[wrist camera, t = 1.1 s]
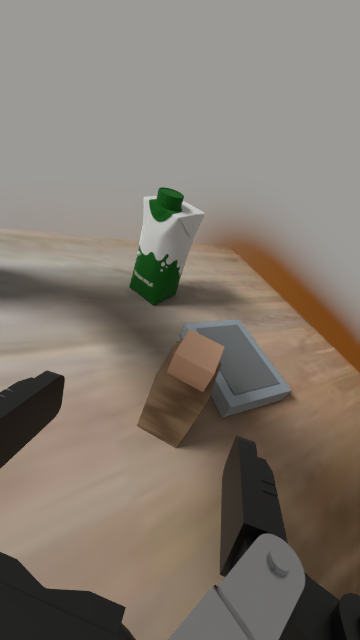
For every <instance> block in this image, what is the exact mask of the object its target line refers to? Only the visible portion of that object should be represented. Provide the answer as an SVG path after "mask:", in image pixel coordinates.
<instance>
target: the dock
mask: <svg viewBox="0 0 360 640" xmlns="http://www.w3.org/2000/svg"><path fill="white" fill-rule="evenodd" d="M189 329H191V330H193V331H195V332H197V333H199V334H201V335H203V336H205V337H206V338H208V339H210V340H212V341H214V342H216V343H218V344H220V345H222V346H224V350H223V352H222V355H221V358H220V360H219V362H220V363H222V364H221V367H220V369H219V372H218V375H217V378H216V380H215V383H214V386H213V389H212V392H211V394H210V395H211V397H212V399H213V401H214V403H215V405H216V407H217V409H218V411H219V413H220V415H221V417H222V418H223V417H227V416H230V415H234V414H237V413H240V412H244V411H247V410H251V409H254V408H257V407H261V406H264V405H267V404H271V403H274V402H278V401H281V400H282V399H283V398H284V397H286V396H287V395H288V394H289V393H290V392H291V391H292V390H291V389H290V387H289V386H288V385H287V383H286V382H285V380H284V379H283V378H282V376H281V375H280V374H279V372H278V371H277V370H276V368H275V367H274V366H273V364H272V363H271V362H270V360H269V359H268V358H267V356H266V355H265V354H264V352H263V351H262V350H261V348H260V347H259V346H258V344H257V343H256V342H255V340H254V339H253V338H252V336H251V335H250V334H249V332H248V331H247V330H246V328H245V327H244V326H243V324H242V323H241V321H240V320H239V319H238V320H225V321H211V322H198V323H185V325H184V327H183V330H182V332H181V335H180V336H181V338H182V340H183V339H184V337H185V335H186V334H187V332H188V330H189Z"/></svg>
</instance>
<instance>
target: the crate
mask: <svg viewBox="0 0 360 640" xmlns="http://www.w3.org/2000/svg"><path fill="white" fill-rule="evenodd" d="M180 344H181V342H179V341H177V343H176V344H175V346H174V347H173V349H172V350H171V352H170V354H169V355H168V357H167V358H166V360H165V362H164V363H163V365H162V366H161V368H160V370H159V371H158V373H157V374H156V377H155V380H154V382H153V385H152V388H151V390H150V393H149V395H148V398H147V401H146V403H145V406H144V409H143V411H142V414H141V417H140V419H139V422H138V425H137V426H138V427H140V428H141V429H143V430H145V431H147V432H148V433H150V434H152V435H154V436H155V437H157V438H159V439H161V440H163V441H164V442H166V443H168V444H170V445H171V446H173V447H175V448H177V446H178V445H179V443H180V442H181V440H182V439H183V437H184V436H185V435H186V433H187V432H188V430H189V429H190V427H191V426H192V424H193V423H194V421H195V420H196V418H197V417H198V416H199V414H200V413H201V411H202V410H203V408H204V407H205V405H206V404H207V402H208V400H209V397H210V394H211V392H212V389H213V386H214V383H215V380H216V378H217V375H218V372H219V369H220V367H221V364H222V363H220V362H219V363H218V366H217V368H216V371H215V374H214V375H213V377H212V379H211V380H210V382H209V383H208V385H207V387H206V388H205V390H204V391H203V392H201V391H200V390H198V389H196V388H194V387H192V386H190V385H188V384H187V383H185V382H183V381H181V380H179V379H177V378H175V377H173V376H172V375H170V374H168V373H167V370H168V368H169V365H170V363H171V361H172V358H173V356H174V354H175V352H176V350H177V349H178V347H179V345H180Z"/></svg>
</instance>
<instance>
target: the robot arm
mask: <svg viewBox="0 0 360 640" xmlns="http://www.w3.org/2000/svg"><path fill="white" fill-rule="evenodd" d="M64 382H65V378H64V376H62V375H59V374H56V373H53V372H51V371H45V372H43V373H42V374H40V375H39V376H37V377H36V378H32V377H31V378H28V379H25V380H22V381H18V382H17V383H15V384H13V385H12V386H10V387H8V388H7V390H6V389H5V390H3V391H2V392H0V468H1V467H3V466H4V465H5V464H6V463H7V462H8V461H9V460H10V459H11V458H12V457H13V456H14V455H15V454H16V453H17V452H19V451H20V450H21V449H22V448H23V447H24V446H25V445H26V444H27V443H28V442H29V441H30V440H31V439H32V438H33V437H35V436H36V435H37V434H38V433H39V432H40V431H41V430H42V429H43V428H44V427H45V426H46V425H47V424H48V423H49V422H51V421H52V420H53V419H54V418H55V417H56V415H57V414H58V412H59V410H60V408H61V404H62V397H63V389H64ZM277 496H278V495H277V490H276V487H275V481H274V476H273V472H272V470H271V468H270V467H269V465H268V463H267V462H266V460H265V459H262V458H259V457H257V450H256V444H255V442H253V441H250V440H247V439H244V438H241V437H238V436H237V437H236V438H235V440H234V443H233V445H232V448H231V451H230V453H229V456H228V458H227V461H226V464H225V467H224V471H223V477H222V508H221V549H220V575H222V576H224V577H225V578H224V580H223V581H222V582H221V583H220V584H219V585H218V586H216V585H215V586H213V587H212V588H211V589H210V590H209V591H208V592H207V593H206V595H205V596H204V597H203V598H202V599H201V601H200V602H199V603H198V604H197V605H196V607H195V608H194V609H193V610H192V611H191V613H190V614H189V615H188V616H187V617H186V619H185V620H184V621H183V622H182V623H181V625H180V626H179V627H178V628H177V630H176V631H175V632H174V633H173V634H172V636H171V637H170V638H169V639H168V640H360V596H358V595H356V594H351V593H349V594H345V595H343V597H342V598H341V599H340V600H338V599H337V598H336V597H334V596H333V595H332V594H330V593H329V592H328V591H326V590H325V589H324V588H322V587H321V586H320V585H318V584H317V583H316V582H315V581H313V580H312V579H311V578H310V577H309V576H308V575H307V574H306V573H305V572H304V569H303V567H302V564H301V562H300V560H299V558H298V556H297V555H296V553H295V552H294V550H293V549H292V548H291V547H290V546H289V545H288V543H287V539H286V534H285V529H284V524H283V519H282V514H281V510H280V505H279V500H278V498H277ZM125 608H126V607H124V606H122V605H119V604H117V603H115V602H112V601H110V600H108V599H106V598H103V597H101V596H99V595H97V594H94V593H92V592H90V591H77V590H60V589H47V588H45V587H43V586H42V585H41V584H40V583H39V582H38V581H37V580H36V579H35V578H34V577H33V576H32V575H31V574H30V573H29V571H28V570H27V569H26V568H25V567H24V566H23V565H22V564H21V563H20V562H19V561H18V560H17V559H15V558H13V557H10V556H8V555H6V554H4V553H1V552H0V640H136V639H135V638H134V637H133V635H132V634H131V633H130V631H129V630H128V629H127V628H126V627H125V626H124V625H123V624H122V623H121V622H122V618H123V615H124V611H125Z"/></svg>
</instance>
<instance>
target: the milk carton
mask: <svg viewBox="0 0 360 640" xmlns="http://www.w3.org/2000/svg"><path fill="white" fill-rule="evenodd" d="M183 198H184V196H183V195H182V194H181V193H180V192H177V191H175V190H173V189H169V188H159V191H158V195H157V196H149V197H144V221H143V227H142V232H141V237H140V242H139V248H138V253H137V258H136V263H135V267H134V271H133V275H132V279H131V283H130V288H131V289H133V290H134V291H135V292H137V293H138V294H139V295H141V296H142V297H143V298H145V299H146V300H147V301H148V302H150V303H151V304H152V305H156V304H158V303H160V302H162V301H163V300H165V299H167V298H169V297H171V296H173V295H175V294H176V290H177V287H178V283H179V280H180V277H181V274H182V271H183V268H184V265H185V262H186V259H187V256H188V253H189V250H190V247H191V244H192V241H193V238H194V236H195V234H196V232H197V230H198V227H199V225H200V223H201V221H202V219H203V217H204V215H205V213H204V212H202V211H200V210H199V209H197V208H195V207H193V206H191V205H189V204H188V203H186V202H184V201H183Z"/></svg>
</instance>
